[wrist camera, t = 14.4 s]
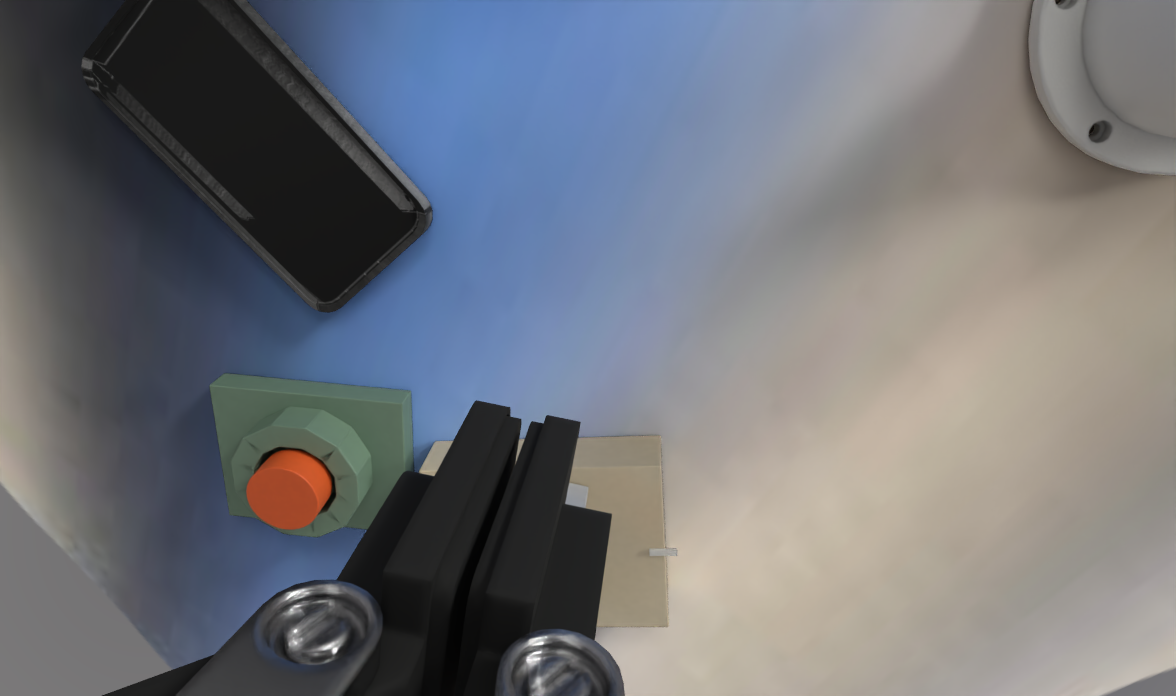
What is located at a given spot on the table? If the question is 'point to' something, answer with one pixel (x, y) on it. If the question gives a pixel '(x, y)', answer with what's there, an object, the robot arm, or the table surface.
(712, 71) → the table surface
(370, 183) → the phone
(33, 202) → the table surface
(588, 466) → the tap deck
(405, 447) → the button box
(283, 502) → the button
